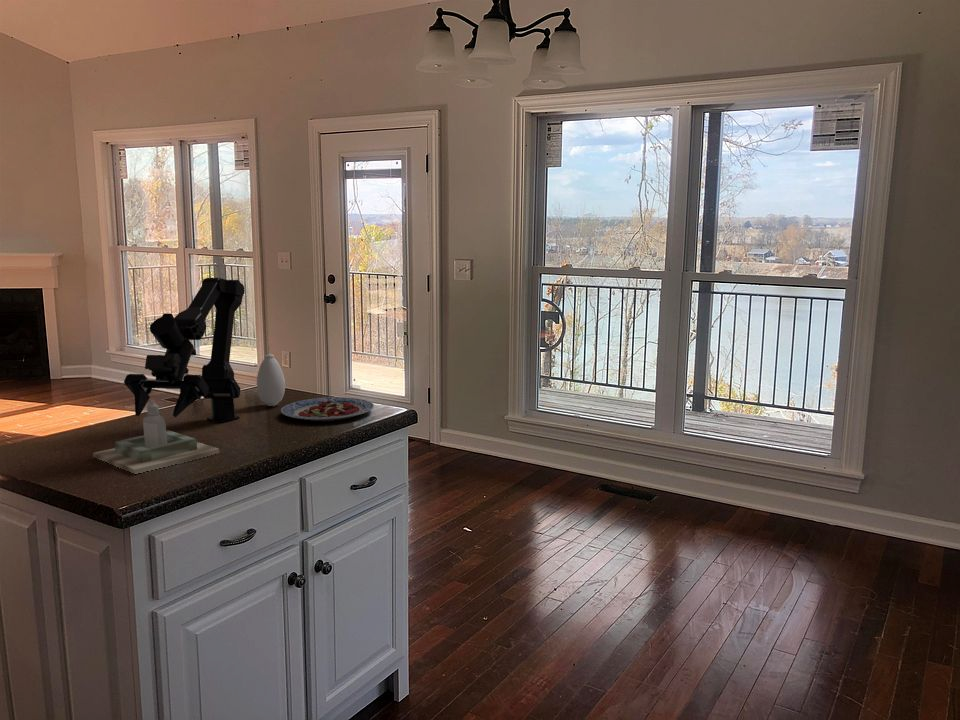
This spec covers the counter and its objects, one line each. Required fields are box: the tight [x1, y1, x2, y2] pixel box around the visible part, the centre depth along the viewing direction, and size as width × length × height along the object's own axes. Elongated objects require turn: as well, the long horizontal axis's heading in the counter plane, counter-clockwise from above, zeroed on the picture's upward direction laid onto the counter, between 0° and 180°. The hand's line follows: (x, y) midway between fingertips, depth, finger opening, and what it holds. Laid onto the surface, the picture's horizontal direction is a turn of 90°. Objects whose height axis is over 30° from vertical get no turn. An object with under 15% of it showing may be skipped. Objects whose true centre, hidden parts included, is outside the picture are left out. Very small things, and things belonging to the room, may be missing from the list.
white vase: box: [256, 346, 286, 407], centre depth 226 cm, size 8×8×18 cm
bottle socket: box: [93, 429, 220, 475], centre depth 178 cm, size 20×20×4 cm
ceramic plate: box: [280, 396, 375, 422], centre depth 217 cm, size 26×26×3 cm
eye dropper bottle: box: [142, 399, 167, 448], centre depth 177 cm, size 4×6×12 cm
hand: (155, 415), depth 177 cm, fingers open, 9 cm apart
